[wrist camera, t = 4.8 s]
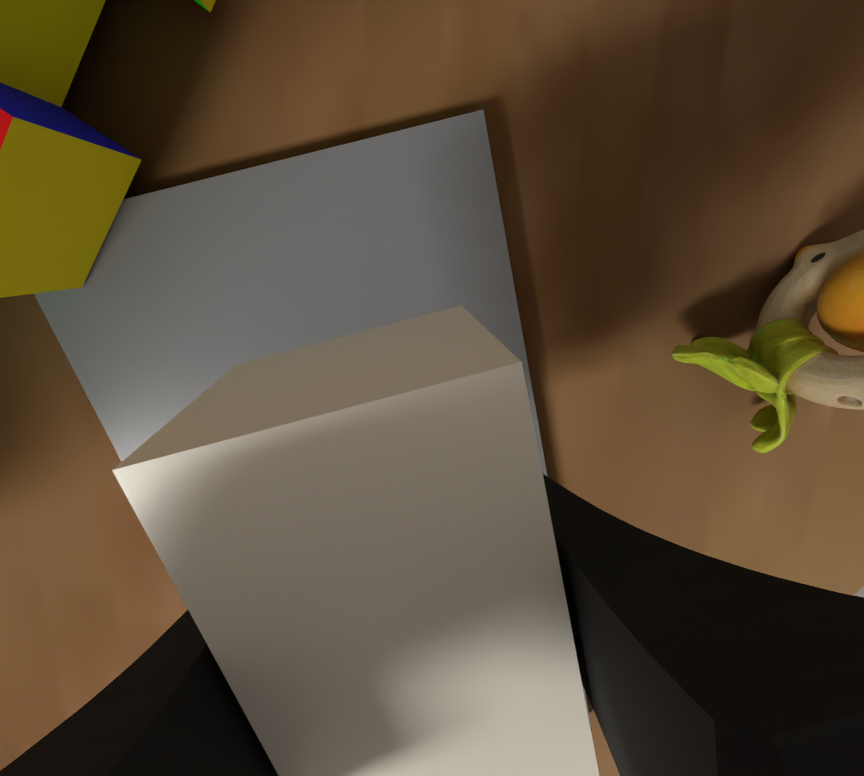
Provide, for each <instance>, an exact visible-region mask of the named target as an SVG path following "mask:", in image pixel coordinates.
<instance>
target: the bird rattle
mask: <svg viewBox="0 0 864 776" xmlns="http://www.w3.org/2000/svg"><path fill="white" fill-rule="evenodd" d="M816 312H817V317H818V320H819V322H820V324H821V326H822V328H823V329H824V330H825V331H826V332H827V333H828V334H829V335H830V336H831V337H832V338H833V339H834V340H836V341H837V342H839V343H841V344H842V345H845V346H847V347H849V348H851V349H854V350H858V351H861V352H864V229H863V230H861V231H858V232H856V233H853V234H851V235H849V236H847V237H844V238H842V239H840V240H837V241H834V242H831V243H826V244H817V245H810V246H806V247H803V248H801V249H800V250H799V251H798V253H797V254H796V256H795V259H794V264H793V267H792V269H791V270H790V271H789V272H788V273H787V274H786V275H785V276H784V277H783V279H782V280H781V281H780V282H779V283H778V284H777V286H776V287H775V288H774V290H773V291H772V292H771V294H770V295H769V297H768V298H767V300H766V302H765V304H764V306H763V308H762V310H761V312H760V315H759V318H758V321H757V325H756V330H755V334H754V335H753V337H752V339H751V341H750V345H749V348H748V350H744V349H743V348H741V347H740V346H738V345H736V344H734V343H732V342H729V341H727V340H725V339H723V338H719V337H704V338H700V339H697V340H694V341H693V342H692V343H691V345H690V347H689V346H683V345H677V346H676V347H675V348H674V350H673V353H672V357H673V358H674V359H675V360H677V361H680V362H683V363H694V364H698V365H700V366H703V367H705V368H707V369H709V370H711V371H712V372H714V373H716V374H718V375H719V376H721V377H723V378H725V379H726V380H728V381H730V382H731V383H733V384H735V385H737V386H739V387H742V388H744V389H748V390H753V391H756V393H757V394H758V395H759V396H760V397H761V398H763V399H764V400H766V401H768V402H770V403H771V404H772V405H770V406H766V407H764V408H762V409H760V410H759V411H758V412H757V413H756V414H755V415H754V417H753V418H752V420H751V422H750V425H751V427H752V428H754V429H755V430H757V431H761V432H763V433H762V434H761V435H760V436H759V437H758V438H756V439H755V441H754V442H753V443H752V448H753V449H754V450H756V451H757V452H760V453H766V452H768V451H770V450H772V449H774V448H775V447H777V446H779V445H780V444H781V443H782V442H783V441H784V440H785V438H786V437H787V436H788V433H789V429H790V426H791V424H792V421H793V419H794V417H795V414H796V399H795V395H797V396H799V397H802V398H804V399H807V400H810V401H812V402H815V403H819V404H822V405H827V406H831V407H838V408H846V409H859V410H864V355H863V356H846V355H838V352H837V351H835V350H834V349H832V348H830V347H828V346H826V345H825V344H824V342H823V341H822V340H821V339H819V338H818V337H816V336H814V335H813V334H812V333H811V332H810V330H809V329H808V325H809V323H810V321H811V319H812V317H813V316H814V314H815V313H816Z"/></svg>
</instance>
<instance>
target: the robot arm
mask: <svg viewBox="0 0 864 776" xmlns="http://www.w3.org/2000/svg"><path fill="white" fill-rule="evenodd" d="M543 478H544V484H545V489H546V494H547V500H548V505H549V510H550V516H551V521H552V526H553V532H554V537H555V542H556V548H557V553H558V558H559V564H560V569H561V574H562V580H563V585H564V590H565V596H566V601H567V606H568V612H569V617H570V623H571V628H572V633H573V639H574V644H575V649H576V655H577V660H578V665H579V671H580V676H581V681H582V685H583V687H584V689H585V692H586V694H587V696H588V698H589V700H590V702H591V705H592V707H593V709H594V712H595V714H596V717H597V719H598V721H599V724H600V726H601V729H602V731H603V734H604V736H605V739H606V741H607V744H608V746H609V749H610V751H611V754H612V756H613V759H614V761H615V764H616V766H617V769H618V771H619V774H620V776H864V598H863V597H857V596H852V595H847V594H842V593H838V592H834V591H829V590H825V589H821V588H817V587H813V586H809V585H805V584H801V583H797V582H793V581H789V580H786V579H782V578H778V577H774V576H771V575H767V574H764V573H760V572H757V571H753V570H750V569H746V568H743V567H740V566H737V565H734V564H731V563H728V562H725V561H722V560H719V559H716V558H712V557H709V556H706V555H703V554H701V553H698V552H695V551H692V550H690V549H687V548H684V547H682V546H679V545H677V544H674V543H672V542H669V541H667V540H664V539H662V538H660V537H657V536H655V535H652V534H650V533H647V532H645V531H643V530H641V529H639V528H636V527H634V526H632V525H630V524H628V523H626V522H624V521H622V520H620V519H618V518H616V517H614V516H612V515H610V514H608V513H606V512H604V511H603V510H601V509H599V508H597V507H596V506H594V505H592V504H590V503H589V502H587V501H585V500H584V499H582V498H580V497H579V496H577V495H575V494H574V493H572V492H570V491H569V490H567V489H566V488H564V487H563V486H561V485H560V484H558V483H556V482H555V481H553V480H552V479H550V478H549V477H547V476H546V475H544V474H543ZM0 776H279V775H278V773H277V772H276V770H275V768H274V766H273V764H272V762H271V761H270V759H269V757H268V755H267V753H266V751H265V750H264V748H263V746H262V744H261V742H260V740H259V739H258V737H257V735H256V733H255V731H254V729H253V728H252V726H251V724H250V722H249V720H248V718H247V717H246V715H245V713H244V711H243V709H242V707H241V706H240V704H239V702H238V700H237V698H236V696H235V695H234V693H233V691H232V689H231V687H230V685H229V684H228V682H227V680H226V678H225V676H224V674H223V673H222V671H221V669H220V667H219V665H218V663H217V662H216V660H215V658H214V656H213V654H212V652H211V651H210V649H209V647H208V645H207V643H206V641H205V640H204V638H203V636H202V634H201V632H200V630H199V629H198V627H197V625H196V623H195V621H194V619H193V618H192V616H191V614H190V612H189V610H187V611H186V612H185V613H184V614H183V615H182V616H181V617H180V618H179V619H178V620H177V621H176V622H175V623H174V624H173V625H172V626H171V627H170V628H169V629H168V630H167V631H166V632H165V633H164V634H163V635H162V636H161V637H160V638H159V639H158V640H157V641H156V642H155V643H154V644H153V645H152V646H151V647H150V648H149V649H148V650H147V651H146V652H144V653H143V654H142V655H141V656H140V657H139V658H138V659H137V660H136V661H135V662H134V663H133V664H131V665H130V666H129V667H128V668H127V669H126V670H125V671H124V672H123V673H121V674H120V675H119V676H118V677H117V678H116V679H115V680H113V681H112V682H111V683H110V684H109V685H108V686H106V687H105V688H104V689H103V690H102V691H101V692H99V693H98V694H97V695H96V696H95V697H94V698H93V699H91V700H90V701H89V702H88V703H87V704H85V705H84V706H83V707H82V708H81V709H79V710H78V711H77V712H76V713H74V714H73V715H72V716H71V717H69V718H68V719H67V720H65V721H64V722H63V723H62V724H60V725H59V726H58V727H56V728H55V729H54V730H53V731H51V732H50V733H49V734H48V735H46V736H45V737H44V738H42V739H41V740H40V741H39V742H37V743H36V744H35V745H33V746H32V747H31V748H30V749H28V750H27V751H26V752H25V753H23V754H22V755H21V756H19V757H18V758H17V759H16V760H14V761H13V762H12V763H10V764H9V765H8V766H6V767H5V768H4V769H2V770H1V771H0Z"/></svg>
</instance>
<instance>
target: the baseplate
mask: <svg viewBox="0 0 864 776" xmlns="http://www.w3.org/2000/svg"><path fill="white" fill-rule="evenodd" d="M34 295H35V297H36V299H37V301H38V303H39V305H40V307H41V309H42V311H43V313H44V315H45V316H46V318H47V320H48V322H49V324H50V326H51V328H52V330H53V332H54V334H55V336H56V337H57V339H58V341H59V343H60V345H61V347H62V349H63V351H64V353H65V355H66V357H67V358H68V360H69V362H70V364H71V366H72V368H73V370H74V372H75V374H76V376H77V378H78V379H79V381H80V383H81V385H82V387H83V389H84V391H85V393H86V395H87V397H88V399H89V400H90V402H91V404H92V406H93V408H94V410H95V412H96V414H97V416H98V418H99V420H100V421H101V423H102V425H103V427H104V429H105V431H106V433H107V435H108V437H109V439H110V440H111V442H112V444H113V446H114V448H115V450H116V452H117V454H118V456H119V458H120V460H121V461H123V460H125V459H126V458H127V457H128V456H129V455H131V454H132V453H133V452H134V451H135V450H136V449H138V448H139V447H140V446H141V445H142V444H143V443H145V442H146V441H147V440H148V439H149V438H151V437H152V436H153V435H154V434H155V433H156V432H158V431H159V430H160V429H161V428H162V427H163V426H165V425H166V424H167V423H168V422H169V421H171V420H172V419H173V418H174V417H175V416H176V415H178V414H179V413H180V412H181V411H182V410H183V409H185V408H186V407H187V406H188V405H189V404H191V403H192V402H193V401H194V400H195V399H196V398H198V397H199V396H200V395H201V394H202V393H203V392H205V391H206V390H207V389H208V388H209V387H211V386H212V385H213V384H214V383H215V382H216V381H218V380H219V379H220V378H221V377H222V376H223V375H225V374H226V373H227V372H228V371H229V370H231V369H232V368H233V367H234V366H235V365H237V364H241V363H244V362H248V361H252V360H256V359H260V358H263V357H267V356H271V355H275V354H279V353H282V352H286V351H290V350H294V349H298V348H301V347H305V346H309V345H313V344H317V343H321V342H324V341H328V340H332V339H336V338H340V337H343V336H347V335H351V334H355V333H359V332H362V331H366V330H370V329H374V328H378V327H381V326H385V325H389V324H393V323H397V322H400V321H404V320H408V319H412V318H416V317H419V316H423V315H427V314H431V313H435V312H438V311H442V310H446V309H450V308H454V307H458V306H463V307H464V308H465V309H466V310H467V311H468V312H469V313H470V314H471V315H472V316H473V317H474V318H475V319H476V320H478V321H479V322H480V323H481V324H482V325H483V326H484V327H485V328H486V329H487V330H488V331H489V332H490V333H491V334H492V335H494V336H495V337H496V338H497V339H498V340H499V341H500V342H501V343H502V344H503V345H504V346H505V347H506V348H507V349H509V350H510V351H511V352H512V353H513V354H514V355H515V356H516V357H517V358H518V359H519V360H520V361H521V362H522V366H523V371H524V377H525V382H526V387H527V393H528V398H529V403H530V409H531V414H532V419H533V425H534V430H535V435H536V441H537V446H538V451H539V457H540V462H541V468H542V473H543V474H544V475H546V476H547V471H546V465H545V459H544V453H543V448H542V442H541V436H540V431H539V425H538V419H537V413H536V408H535V402H534V396H533V390H532V385H531V379H530V373H529V368H528V362H527V356H526V350H525V345H524V339H523V333H522V327H521V322H520V316H519V310H518V305H517V299H516V293H515V287H514V282H513V276H512V270H511V264H510V259H509V253H508V247H507V241H506V236H505V230H504V224H503V219H502V213H501V207H500V201H499V196H498V190H497V184H496V178H495V173H494V167H493V161H492V156H491V150H490V144H489V138H488V133H487V127H486V121H485V115H484V110H479V111H475V112H471V113H467V114H463V115H459V116H455V117H451V118H447V119H443V120H439V121H435V122H431V123H427V124H423V125H419V126H415V127H411V128H407V129H403V130H399V131H395V132H391V133H387V134H383V135H379V136H375V137H371V138H367V139H363V140H359V141H355V142H351V143H347V144H343V145H339V146H335V147H331V148H327V149H323V150H319V151H315V152H311V153H307V154H303V155H299V156H295V157H291V158H287V159H283V160H279V161H275V162H271V163H267V164H263V165H259V166H255V167H251V168H247V169H243V170H239V171H235V172H231V173H227V174H223V175H219V176H215V177H211V178H207V179H203V180H199V181H195V182H191V183H187V184H183V185H179V186H175V187H171V188H167V189H163V190H159V191H155V192H151V193H147V194H143V195H139V196H135V197H131V198H127V199H123V201H122V203H121V205H120V207H119V209H118V212H117V214H116V216H115V218H114V220H113V222H112V224H111V226H110V229H109V231H108V233H107V235H106V237H105V239H104V241H103V244H102V246H101V248H100V250H99V252H98V254H97V256H96V259H95V261H94V263H93V265H92V267H91V269H90V271H89V274H88V276H87V278H86V280H85V282H84V284H83V286H82V288H74V289H66V290H58V291H50V292H42V293H35V294H34ZM547 477H548V476H547ZM582 687H583V685H582ZM583 692H584V697H585V703H586V708H587V713H588V719H589V724H590V729H591V731H592V728H591V723H590V717H589V711H588V705H587V700H586V694H585V689H584V687H583Z"/></svg>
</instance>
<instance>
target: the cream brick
mask: <svg viewBox="0 0 864 776" xmlns="http://www.w3.org/2000/svg"><path fill="white" fill-rule="evenodd" d="M112 471H113V473H114V474H115V476H116V478H117V480H118V482H119V484H120V485H121V487H122V489H123V491H124V493H125V495H126V496H127V498H128V500H129V502H130V504H131V506H132V507H133V509H134V511H135V513H136V515H137V517H138V519H139V520H140V522H141V524H142V526H143V528H144V530H145V531H146V533H147V535H148V537H149V539H150V541H151V542H152V544H153V546H154V548H155V550H156V552H157V553H158V555H159V557H160V559H161V561H162V563H163V564H164V566H165V568H166V570H167V572H168V574H169V575H170V577H171V579H172V581H173V583H174V585H175V586H176V588H177V590H178V592H179V594H180V596H181V597H182V599H183V601H184V603H185V605H186V607H187V608H188V610H189V612H190V614H191V616H192V618H193V619H194V621H195V623H196V625H197V627H198V629H199V630H200V632H201V634H202V636H203V638H204V640H205V641H206V643H207V645H208V647H209V649H210V651H211V652H212V654H213V656H214V658H215V660H216V662H217V663H218V665H219V667H220V669H221V671H222V673H223V674H224V676H225V678H226V680H227V682H228V684H229V685H230V687H231V689H232V691H233V693H234V695H235V696H236V698H237V700H238V702H239V704H240V706H241V707H242V709H243V711H244V713H245V715H246V717H247V718H248V720H249V722H250V724H251V726H252V728H253V729H254V731H255V733H256V735H257V737H258V739H259V740H260V742H261V744H262V746H263V748H264V750H265V751H266V753H267V755H268V757H269V759H270V761H271V762H272V764H273V766H274V768H275V770H276V772H277V773H278V775H279V776H599V772H598V767H597V762H596V756H595V751H594V745H593V740H592V735H591V729H590V724H589V719H588V713H587V708H586V703H585V697H584V692H583V687H582V681H581V676H580V671H579V665H578V660H577V655H576V649H575V644H574V639H573V633H572V628H571V623H570V617H569V612H568V606H567V601H566V596H565V590H564V585H563V580H562V574H561V569H560V564H559V558H558V553H557V548H556V542H555V537H554V532H553V526H552V521H551V516H550V510H549V505H548V500H547V494H546V489H545V484H544V478H543V473H542V468H541V462H540V457H539V451H538V446H537V441H536V435H535V430H534V425H533V419H532V414H531V409H530V403H529V398H528V393H527V387H526V382H525V377H524V371H523V366H522V362H521V361H520V360H519V359H518V358H517V357H516V356H515V355H514V354H513V353H512V352H511V351H510V350H509V349H507V348H506V347H505V346H504V345H503V344H502V343H501V342H500V341H499V340H498V339H497V338H496V337H495V336H494V335H492V334H491V333H490V332H489V331H488V330H487V329H486V328H485V327H484V326H483V325H482V324H481V323H480V322H479V321H478V320H476V319H475V318H474V317H473V316H472V315H471V314H470V313H469V312H468V311H467V310H466V309H465V308H464V307H463V306H458V307H454V308H450V309H446V310H442V311H438V312H435V313H431V314H427V315H423V316H419V317H416V318H412V319H408V320H404V321H400V322H397V323H393V324H389V325H385V326H381V327H378V328H374V329H370V330H366V331H362V332H359V333H355V334H351V335H347V336H343V337H340V338H336V339H332V340H328V341H324V342H321V343H317V344H313V345H309V346H305V347H301V348H298V349H294V350H290V351H286V352H282V353H279V354H275V355H271V356H267V357H263V358H260V359H256V360H252V361H248V362H244V363H241V364H237V365H235V366H234V367H233V368H232V369H231V370H229V371H228V372H227V373H226V374H225V375H223V376H222V377H221V378H220V379H219V380H218V381H216V382H215V383H214V384H213V385H212V386H211V387H209V388H208V389H207V390H206V391H205V392H203V393H202V394H201V395H200V396H199V397H198V398H196V399H195V400H194V401H193V402H192V403H191V404H189V405H188V406H187V407H186V408H185V409H183V410H182V411H181V412H180V413H179V414H178V415H176V416H175V417H174V418H173V419H172V420H171V421H169V422H168V423H167V424H166V425H165V426H163V427H162V428H161V429H160V430H159V431H158V432H156V433H155V434H154V435H153V436H152V437H151V438H149V439H148V440H147V441H146V442H145V443H143V444H142V445H141V446H140V447H139V448H138V449H136V450H135V451H134V452H133V453H132V454H131V455H129V456H128V457H127V458H126V459H125V460H123V461H122V462H121V463H120V464H119V465H118V466H116V467H115V468H114V469H113V470H112Z"/></svg>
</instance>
